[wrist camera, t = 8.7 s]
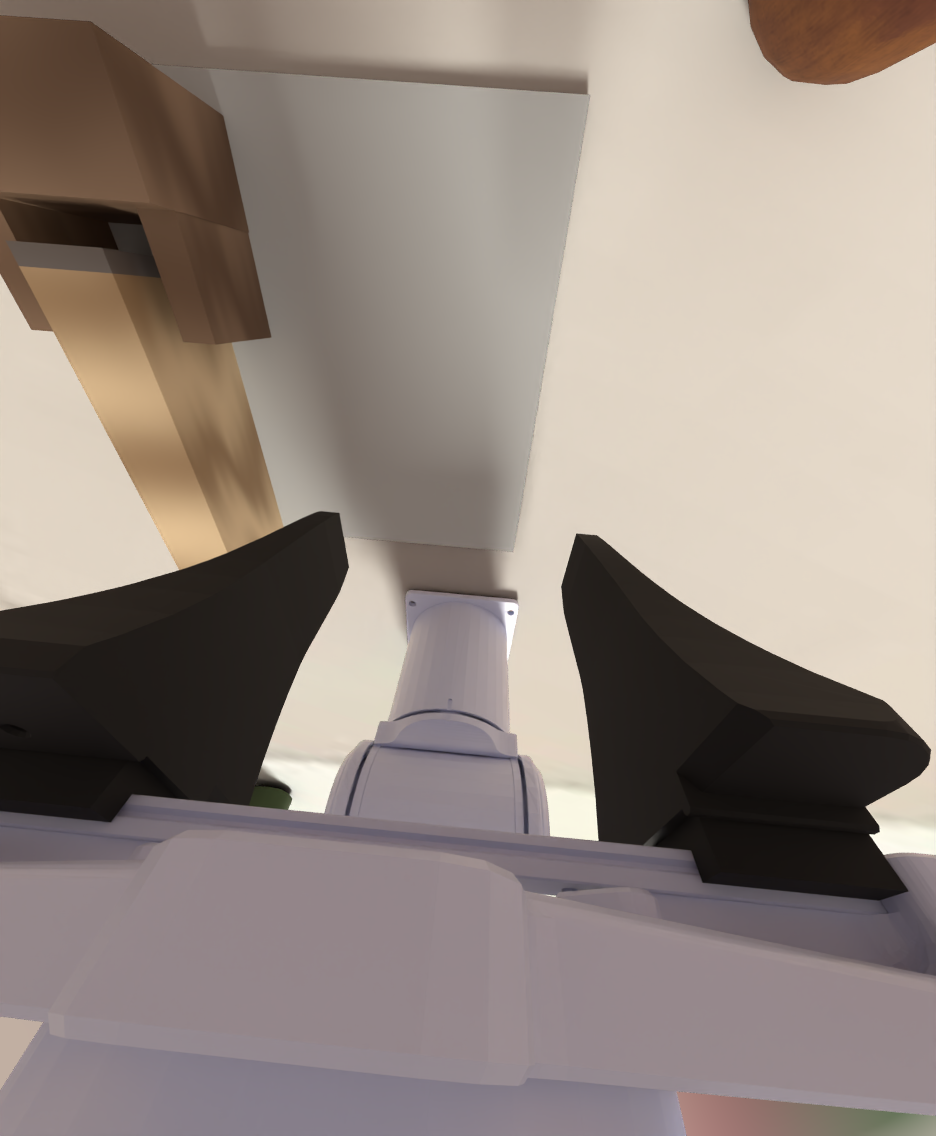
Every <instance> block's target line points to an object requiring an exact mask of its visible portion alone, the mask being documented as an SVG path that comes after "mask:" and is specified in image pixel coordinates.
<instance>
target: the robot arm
mask: <svg viewBox="0 0 936 1136" xmlns="http://www.w3.org/2000/svg"><path fill="white" fill-rule="evenodd" d="M348 568H349V565H348V559H347V553H346V548H345V542H344V536H343V530H342V524H341V519H340V513H336V512H325V511H318V512H315V513H313V514H310V515H308V516H306V517H303V518H301V519H299V520H297V521H295V522H293V523H291V524H289V525H287V526H285V527H283V528H280V529H278V530H276V531H274V532H272V533H270V534H268V535H266V536H264V537H262V538H260V539H257V540H255V541H253V542H250V543H248V544H246V545H244V546H241V547H239V548H237V549H235V550H232V551H230V552H228V553H225V554H223V555H220V556H218V557H215V558H213V559H210V560H207V561H205V562H202V563H199V564H196V565H193V566H190V567H187V568H185V569H181V570H178V571H175V572H172V573H168V574H165V575H161V576H158V577H154V578H151V579H147V580H144V581H141V582H137V583H134V584H130V585H126V586H122V587H118V588H114V589H110V590H105V591H101V592H97V593H92V594H88V595H83V596H78V597H74V598H69V599H64V600H59V601H54V602H49V603H43V604H37V605H31V606H26V607H20V608H14V609H8V610H3V611H0V1016H1V1017H9V1018H16V1019H24V1020H32V1021H40V1022H43V1024H42V1025H41V1027H40V1028H39V1030H38V1032H37V1033H36V1035H35V1036H34V1038H33V1039H32V1041H31V1043H30V1044H29V1046H28V1047H27V1049H26V1051H25V1052H24V1054H23V1055H22V1057H21V1058H20V1060H19V1062H18V1063H17V1065H16V1066H15V1068H14V1069H13V1071H12V1073H11V1074H10V1076H9V1078H8V1079H7V1080H6V1082H5V1084H4V1085H3V1087H2V1088H1V1090H0V1136H686V1131H685V1127H684V1123H683V1118H682V1114H681V1109H680V1105H679V1101H678V1096H677V1092H676V1091H679V1092H690V1093H701V1094H711V1095H721V1096H732V1097H743V1098H753V1099H764V1100H774V1101H785V1102H796V1103H807V1104H817V1105H828V1106H838V1107H848V1108H859V1109H870V1110H880V1111H891V1112H901V1113H912V1114H922V1115H933V1116H936V855H928V854H918V853H894V854H886V855H883V854H882V852H881V851H880V849H879V848H878V847H877V845H876V844H875V842H874V841H873V839H872V838H871V837H870V835H869V834H876V833H878V832H880V830H879V825H878V824H877V822H876V821H875V820H874V818H873V817H872V815H871V814H870V813H869V811H868V810H867V809H866V807H865V806H867V805H869V804H871V803H873V802H875V801H876V800H878V799H880V798H882V797H884V796H886V795H888V794H889V793H891V792H893V791H895V790H897V789H899V788H900V787H902V786H904V785H906V784H908V783H909V782H911V781H912V780H914V779H915V778H917V777H918V776H920V775H921V773H922V772H923V771H924V770H925V769H926V767H927V766H928V765H929V761H930V754H931V749H930V748H929V747H928V745H927V744H926V743H925V741H924V740H923V739H922V738H921V737H920V736H919V735H918V734H917V733H916V732H915V731H914V730H913V729H912V728H911V727H910V726H909V725H908V724H907V723H906V722H905V721H904V720H903V719H902V718H901V717H900V716H899V715H898V714H897V713H896V712H895V711H894V710H893V709H892V708H891V707H890V706H889V705H888V704H887V703H886V702H884V701H883V700H881V699H878V698H876V697H873V696H871V695H868V694H866V693H863V692H861V691H858V690H856V689H853V688H851V687H848V686H846V685H843V684H841V683H838V682H836V681H833V680H831V679H828V678H826V677H823V676H821V675H818V674H816V673H814V672H811V671H809V670H807V669H805V668H802V667H800V666H798V665H796V664H794V663H791V662H789V661H787V660H785V659H783V658H781V657H778V656H776V655H774V654H772V653H770V652H768V651H766V650H764V649H762V648H760V647H758V646H756V645H754V644H752V643H750V642H748V641H746V640H744V639H742V638H741V637H739V636H737V635H735V634H733V633H731V632H730V631H728V630H726V629H724V628H722V627H720V626H719V625H717V624H715V623H714V622H712V621H710V620H708V619H707V618H705V617H704V616H702V615H700V614H699V613H697V612H696V611H694V610H693V609H691V608H689V607H688V606H686V605H685V604H683V603H682V602H680V601H679V600H677V599H676V598H674V597H673V596H672V595H670V594H669V593H668V592H666V591H665V590H664V589H662V588H661V587H660V586H658V585H657V584H656V583H654V582H653V581H652V580H650V579H649V578H648V577H647V576H645V575H644V574H643V573H642V572H640V571H639V570H638V569H637V568H636V567H634V566H633V565H632V564H631V563H630V562H628V561H627V560H626V559H625V558H624V557H623V556H621V555H620V554H619V553H618V552H617V551H616V550H615V549H613V548H612V547H611V546H610V545H609V544H607V543H606V542H605V541H604V540H602V539H601V538H600V537H598V536H597V535H586V534H576V537H575V540H574V544H573V547H572V551H571V554H570V558H569V561H568V565H567V568H566V572H565V575H564V579H563V582H562V586H561V588H562V599H563V608H564V615H565V619H566V623H567V627H568V631H569V635H570V639H571V643H572V647H573V651H574V655H575V658H576V662H577V666H578V670H579V674H580V678H581V683H582V688H583V694H584V701H585V708H586V715H587V722H588V730H589V739H590V747H591V755H592V766H593V776H594V786H595V797H596V811H597V824H598V838H599V841H592V840H582V839H572V838H562V837H552V836H550V826H549V812H548V803H547V796H546V790H545V785H544V781H543V778H542V775H541V773H540V771H539V770H538V768H537V767H536V766H535V765H534V763H533V761H532V759H531V758H530V757H529V756H526V755H518V753H517V735H516V734H512V733H510V719H509V688H508V658H509V653H510V648H511V643H512V639H513V634H514V629H515V624H516V619H517V614H518V609H519V605H518V602H517V601H516V600H514V599H506V598H495V597H484V596H473V595H462V594H451V593H441V592H430V591H419V590H409V591H408V592H407V593H406V596H405V602H406V620H407V638H408V647H407V651H406V655H405V659H404V662H403V666H402V670H401V674H400V678H399V681H398V685H397V689H396V693H395V697H394V700H393V704H392V708H391V712H390V716H389V719H388V721H381V722H379V726H378V729H377V733H376V736H375V740H374V741H372V740H363V741H361V742H360V743H359V744H358V745H357V746H356V747H355V749H353V750H352V751H351V752H350V753H349V754H348V755H347V756H346V758H345V759H344V761H343V763H342V764H341V766H340V768H339V771H338V773H337V775H336V778H335V780H334V783H333V786H332V789H331V792H330V795H329V798H328V801H327V805H326V809H325V813H324V814H323V813H313V812H304V811H294V810H284V809H274V808H264V807H254V806H249V804H250V801H251V797H252V794H253V791H254V788H255V785H256V782H257V779H258V775H259V772H260V769H261V766H262V763H263V760H264V757H265V754H266V752H267V749H268V746H269V743H270V740H271V737H272V735H273V732H274V729H275V726H276V723H277V721H278V718H279V716H280V713H281V710H282V708H283V705H284V703H285V700H286V698H287V695H288V692H289V690H290V688H291V685H292V683H293V681H294V678H295V676H296V673H297V671H298V669H299V666H300V664H301V662H302V660H303V658H304V656H305V654H306V652H307V650H308V648H309V646H310V645H311V643H312V641H313V639H314V638H315V636H316V634H317V632H318V631H319V629H320V627H321V625H322V623H323V622H324V620H325V618H326V616H327V615H328V613H329V611H330V609H331V607H332V606H333V604H334V602H335V600H336V598H337V596H338V594H339V592H340V590H341V587H342V585H343V582H344V579H345V577H346V574H347V571H348ZM411 601H414V602H415V603H412V602H411ZM509 610H512V612H509ZM547 895H556V897H552V896H547Z"/></svg>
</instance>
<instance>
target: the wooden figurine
mask: <svg viewBox="0 0 936 1136" xmlns="http://www.w3.org/2000/svg"><path fill="white" fill-rule="evenodd" d="M748 3H749V14H750V24H751V28H752V31H753V33H754V35H755V38H756V40H757V42H758V44H759V47H760V49H761V51H762V54H763V56H764V58H765V59H766V60H768V61H769V62H770V63H771V64H772V65H773V66H774V67H775V68H776V69H777V70H778V71H779V72H780V73H781V74H782V75H783V76H784V77H786V78H788V79H790V80H791V81H797V82H805V83H814V84H823V85H830V84H847V83H850V82H853V81H855V80H858V79H861V78H864V77H867V76H869V75H872V74H875V73H878V72H880V71H882V70H884V69H886V68H888V67H890V66H892V65H894V64H895V63H897V62H899V61H901V60H903V59H905V58H907V57H909V56H911V55H913V54H915V53H917V52H919V51H921V50H923V49H924V48H926V47H928V46H930V45H932V44H934V43H936V0H748Z"/></svg>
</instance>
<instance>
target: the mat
mask: <svg viewBox="0 0 936 1136" xmlns="http://www.w3.org/2000/svg"><path fill="white" fill-rule="evenodd" d="M151 65H153V66H154V67H155V68H157V69H158V70H160V71H161V72H162V73H164V74H165V75H167V76H168V77H170V78H171V79H172V80H174V81H175V82H177V83H178V84H179V85H181V86H182V87H184V88H185V89H186V90H188V91H189V92H191V93H192V94H194V95H195V96H196V97H198V98H199V99H201V100H202V101H203V102H205V103H206V104H208V105H209V106H210V107H212V108H213V109H215V110H216V111H218V112H219V113H220V114H222V115H223V116H224V121H225V125H226V130H227V134H228V139H229V143H230V148H231V152H232V157H233V161H234V166H235V170H236V175H237V179H238V184H239V188H240V193H241V197H242V202H243V206H244V211H245V215H246V220H247V224H248V229H249V233H248V234H249V239H250V243H251V248H252V252H253V257H254V261H255V265H256V270H257V274H258V279H259V283H260V288H261V292H262V297H263V301H264V306H265V310H266V315H267V319H268V324H269V328H270V332H271V337H272V338H264V339H256V340H248V341H241V342H233V343H232V346H233V349H234V353H235V356H236V360H237V363H238V367H239V370H240V374H241V378H242V381H243V385H244V388H245V392H246V395H247V399H248V402H249V406H250V409H251V413H252V416H253V420H254V424H255V427H256V431H257V434H258V438H259V441H260V445H261V448H262V452H263V455H264V459H265V462H266V466H267V469H268V473H269V477H270V480H271V484H272V487H273V491H274V494H275V498H276V501H277V505H278V508H279V512H280V515H281V519H282V523H283V526H284V527H285V526H287V525H289V524H291V523H293V522H295V521H297V520H299V519H301V518H303V517H306V516H308V515H310V514H313V513H315V512H318V511H325V512H336V513H340V519H341V524H342V530H343V536H344V537H349V538H360V539H371V540H382V541H393V542H405V543H416V544H427V545H438V546H450V547H461V548H472V549H483V550H495V551H506V552H513V551H514V545H515V539H516V533H517V527H518V522H519V516H520V510H521V504H522V498H523V492H524V486H525V480H526V474H527V468H528V462H529V456H530V450H531V444H532V438H533V433H534V427H535V421H536V415H537V409H538V403H539V397H540V391H541V385H542V379H543V373H544V367H545V361H546V355H547V349H548V344H549V338H550V332H551V326H552V320H553V314H554V308H555V302H556V296H557V290H558V284H559V278H560V272H561V266H562V260H563V255H564V249H565V243H566V237H567V231H568V225H569V219H570V213H571V207H572V201H573V195H574V189H575V183H576V177H577V171H578V165H579V160H580V154H581V148H582V142H583V136H584V130H585V124H586V118H587V112H588V106H589V100H590V95H585V94H571V93H557V92H543V91H528V90H514V89H500V88H485V87H471V86H457V85H443V84H428V83H414V82H400V81H385V80H371V79H357V78H343V77H328V76H314V75H300V74H285V73H271V72H257V71H243V70H228V69H214V68H200V67H186V66H171V65H157V64H151ZM108 224H109V226H110V229H111V231H112V234H113V237H114V239H115V242H116V244H117V247H118V249H119V251H126V252H132V253H138V254H145V255H151V256H153V254H152V251H151V248H150V245H149V242H148V239H147V237H146V234H145V231H144V228H143V225H136V224H123V223H110V222H108Z"/></svg>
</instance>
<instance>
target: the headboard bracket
mask: <svg viewBox="0 0 936 1136" xmlns="http://www.w3.org/2000/svg"><path fill="white" fill-rule="evenodd" d="M108 222H110V223H123V224H136V225H143V228H144V231H145V234H146V237H147V239H148V242H149V245H150V248H151V251H152V254H153V257H154V259H155V262H156V265H157V268H158V271H159V274H160V277H161V279H162V282H163V285H164V288H165V291H166V294H167V296H168V299H169V302H170V305H171V308H172V311H173V314H174V316H175V319H176V322H177V325H178V328H179V331H180V334H181V336H182V339H183V342H189V343H201V344H214V345H217V344H225V343H233V342H241V341H248V340H256V339H264V338H272V337H271V332H270V328H269V324H268V319H267V315H266V310H265V306H264V301H263V297H262V292H261V288H260V283H259V279H258V274H257V270H256V265H255V261H254V257H253V252H252V248H251V243H250V239H249V234H248V233H249V229H248V224H247V220H246V215H245V211H244V206H243V202H242V197H241V193H240V188H239V184H238V179H237V175H236V170H235V166H234V161H233V157H232V152H231V148H230V143H229V139H228V134H227V130H226V125H225V121H224V116H223V115H222V114H220V113H219V112H218V111H216V110H215V109H213V108H212V107H210V106H209V105H208V104H206V103H205V102H203V101H202V100H201V99H199V98H198V97H196V96H195V95H194V94H192V93H191V92H189V91H188V90H186V89H185V88H184V87H182V86H181V85H179V84H178V83H177V82H175V81H174V80H172V79H171V78H170V77H168V76H167V75H165V74H164V73H162V72H161V71H160V70H158V69H157V68H155V67H154V66H153V65H151V64H150V63H148V62H147V61H145V60H144V59H143V58H141V57H140V56H138V55H137V54H136V53H134V52H133V51H131V50H130V49H129V48H127V47H126V46H124V45H123V44H121V43H120V42H119V41H117V40H116V39H114V38H113V37H112V36H110V35H109V34H107V33H106V32H105V31H103V30H102V29H100V28H99V27H97V26H96V25H95V24H93V23H92V22H89V21H74V20H60V19H45V18H31V17H16V16H1V15H0V274H1V276H2V278H3V279H4V281H5V283H6V285H7V287H8V288H9V290H10V292H11V294H12V296H13V297H14V299H15V301H16V303H17V305H18V306H19V308H20V310H21V312H22V313H23V315H24V317H25V319H26V321H27V322H28V324H29V326H30V328H31V330H42V331H53V330H52V328H51V326H50V324H49V322H48V320H47V318H46V316H45V315H44V313H43V311H42V309H41V307H40V305H39V303H38V301H37V299H36V298H35V296H34V294H33V292H32V290H31V288H30V286H29V284H28V282H27V280H26V279H25V277H24V275H23V273H22V271H21V269H20V267H19V265H18V263H17V262H16V260H15V258H14V256H13V254H12V252H11V250H10V248H9V246H8V244H7V243H6V241H5V240H7V241H20V242H33V243H46V244H59V245H72V246H85V247H97V248H106V249H113V250H119V249H118V247H117V244H116V242H115V239H114V237H113V234H112V231H111V229H110V226H109V224H108Z"/></svg>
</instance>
